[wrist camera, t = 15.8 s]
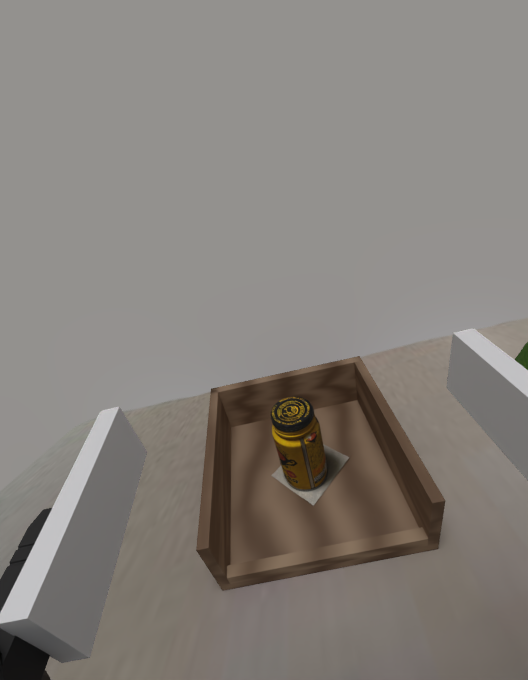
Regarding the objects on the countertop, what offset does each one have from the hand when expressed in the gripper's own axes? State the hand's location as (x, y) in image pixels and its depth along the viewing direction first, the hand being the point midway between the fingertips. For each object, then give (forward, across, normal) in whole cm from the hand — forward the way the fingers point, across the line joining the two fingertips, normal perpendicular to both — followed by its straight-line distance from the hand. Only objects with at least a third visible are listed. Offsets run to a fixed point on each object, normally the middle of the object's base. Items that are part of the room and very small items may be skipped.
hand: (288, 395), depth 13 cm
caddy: (+19, 0, -32) cm, 37 cm away
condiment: (+19, +1, -31) cm, 36 cm away
